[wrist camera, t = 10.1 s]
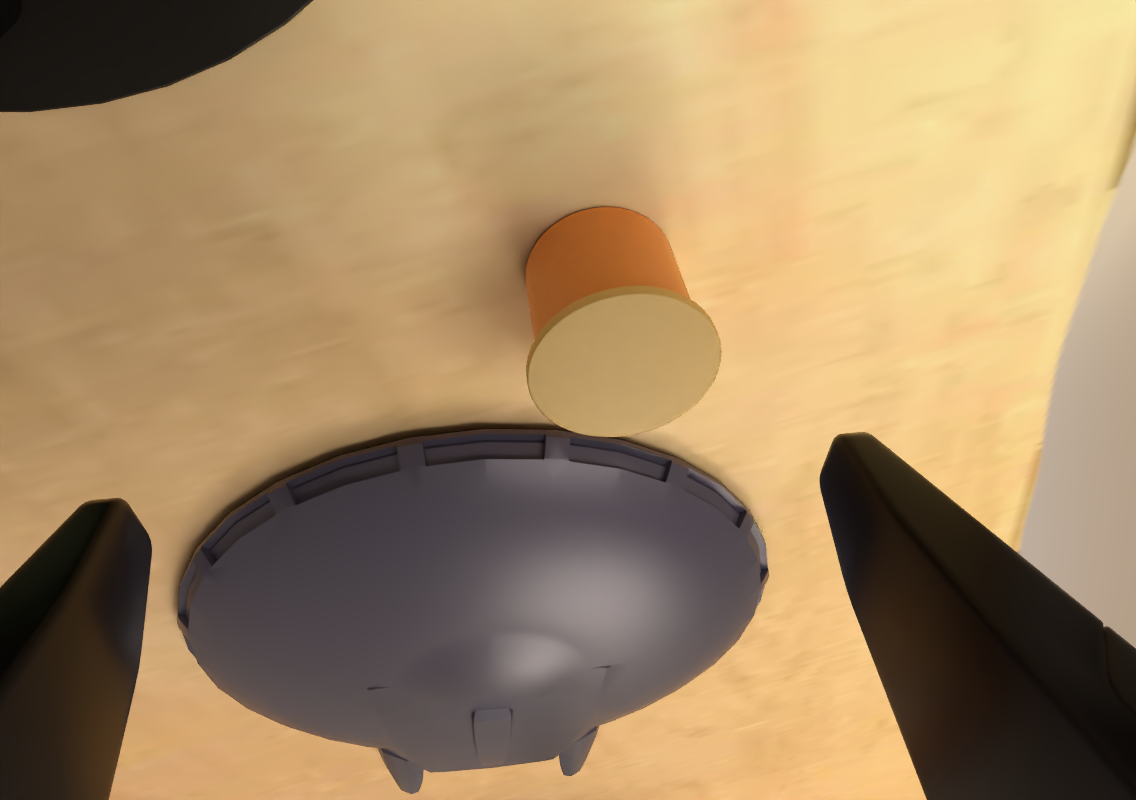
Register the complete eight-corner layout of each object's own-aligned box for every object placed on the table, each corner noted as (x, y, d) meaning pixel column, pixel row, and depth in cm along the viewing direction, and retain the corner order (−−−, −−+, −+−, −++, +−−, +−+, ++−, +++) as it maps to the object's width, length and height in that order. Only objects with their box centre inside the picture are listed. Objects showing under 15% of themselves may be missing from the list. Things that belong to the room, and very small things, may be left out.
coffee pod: (653, 341, 23) (684, 442, 20) (501, 328, 22) (511, 432, 19) (706, 207, 20) (751, 304, 17) (531, 183, 19) (549, 282, 16)
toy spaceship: (693, 734, 46) (707, 792, 44) (272, 779, 43) (264, 844, 41) (840, 404, 26) (879, 479, 24) (77, 442, 23) (39, 533, 21)
